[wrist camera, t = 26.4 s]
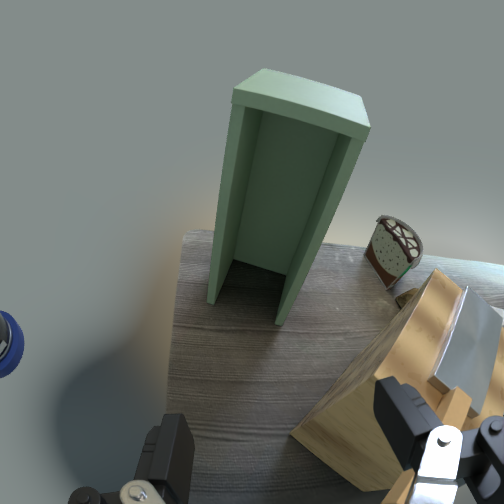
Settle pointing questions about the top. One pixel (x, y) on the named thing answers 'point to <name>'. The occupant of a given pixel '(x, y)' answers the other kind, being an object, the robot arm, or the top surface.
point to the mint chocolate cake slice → (393, 250)
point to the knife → (461, 371)
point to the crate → (405, 371)
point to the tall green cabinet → (283, 176)
